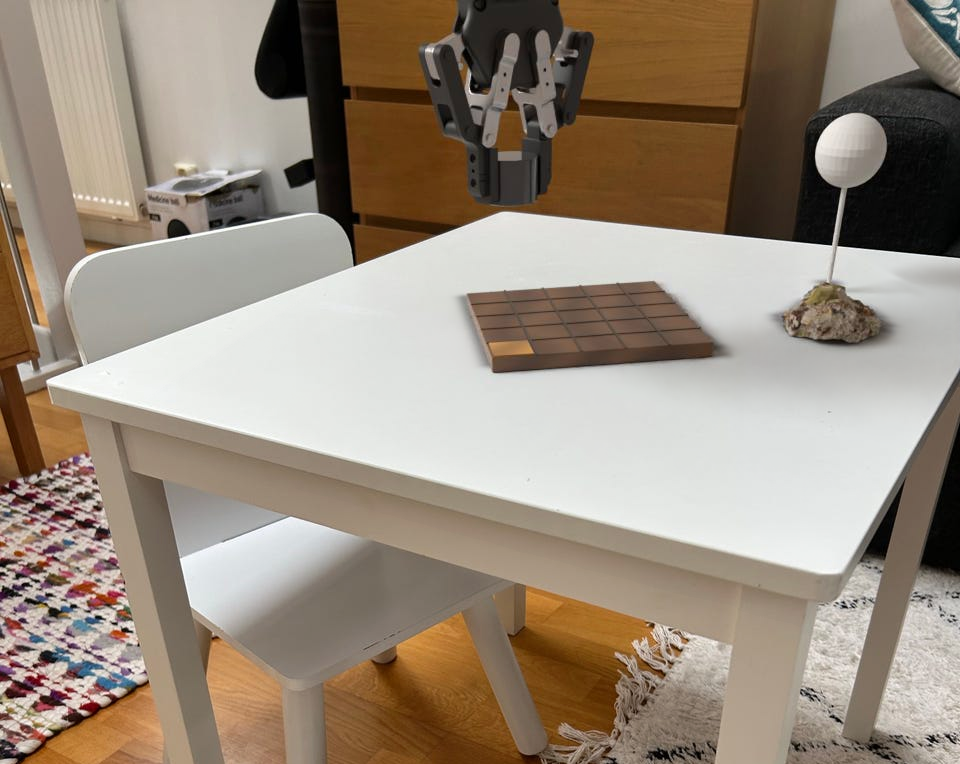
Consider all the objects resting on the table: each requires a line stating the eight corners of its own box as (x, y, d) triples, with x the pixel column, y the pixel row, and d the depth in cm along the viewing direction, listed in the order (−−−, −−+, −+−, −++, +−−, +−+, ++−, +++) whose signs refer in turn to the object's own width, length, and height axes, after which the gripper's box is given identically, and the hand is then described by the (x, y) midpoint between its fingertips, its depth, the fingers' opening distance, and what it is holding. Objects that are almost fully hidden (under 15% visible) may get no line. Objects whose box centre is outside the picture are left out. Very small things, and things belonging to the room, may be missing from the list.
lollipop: (858, 302, 91) (893, 119, 82) (792, 298, 92) (819, 118, 84) (860, 284, 95) (893, 108, 87) (797, 280, 97) (823, 107, 88)
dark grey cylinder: (532, 193, 75) (532, 149, 73) (542, 204, 71) (542, 159, 70) (480, 196, 74) (478, 152, 72) (486, 208, 71) (486, 162, 69)
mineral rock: (897, 321, 79) (800, 289, 79) (871, 372, 81) (777, 341, 82) (884, 287, 88) (797, 259, 88) (861, 334, 90) (776, 306, 90)
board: (653, 293, 95) (654, 279, 94) (712, 356, 80) (714, 340, 80) (467, 306, 93) (466, 292, 93) (492, 372, 79) (491, 356, 78)
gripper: (451, -94, 57) (463, 222, 67) (630, -96, 64) (616, 191, 74) (381, -89, 62) (401, 205, 72) (554, -91, 69) (551, 177, 79)
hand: (510, 196), depth 73 cm, fingers closed on dark grey cylinder, 4 cm apart
